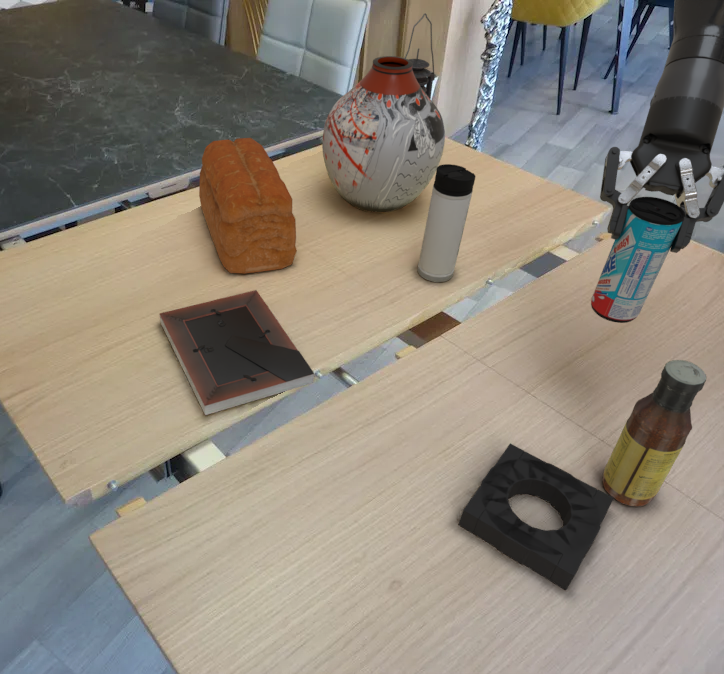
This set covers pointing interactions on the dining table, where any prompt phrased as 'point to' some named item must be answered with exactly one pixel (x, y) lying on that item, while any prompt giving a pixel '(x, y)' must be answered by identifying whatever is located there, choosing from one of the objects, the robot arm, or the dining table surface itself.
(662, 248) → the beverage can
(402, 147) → the vase
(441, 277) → the travel mug
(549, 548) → the pad
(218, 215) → the bread
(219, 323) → the picture frame
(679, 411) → the sauce bottle
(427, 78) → the lantern
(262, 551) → the dining table surface
